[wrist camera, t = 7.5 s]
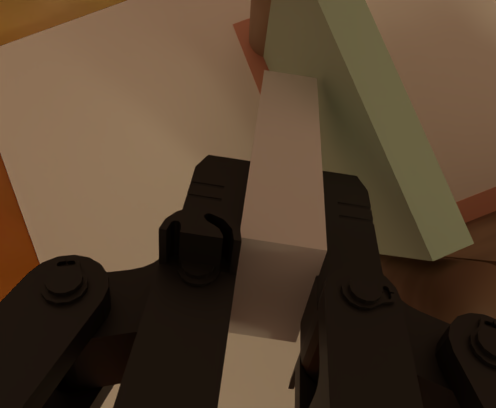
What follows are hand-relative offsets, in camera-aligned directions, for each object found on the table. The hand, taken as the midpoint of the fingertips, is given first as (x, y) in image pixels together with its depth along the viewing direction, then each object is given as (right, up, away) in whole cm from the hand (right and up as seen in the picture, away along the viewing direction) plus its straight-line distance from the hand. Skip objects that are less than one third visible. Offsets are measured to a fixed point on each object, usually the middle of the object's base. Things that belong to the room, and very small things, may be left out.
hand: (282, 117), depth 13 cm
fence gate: (+1, 0, +5) cm, 5 cm away
